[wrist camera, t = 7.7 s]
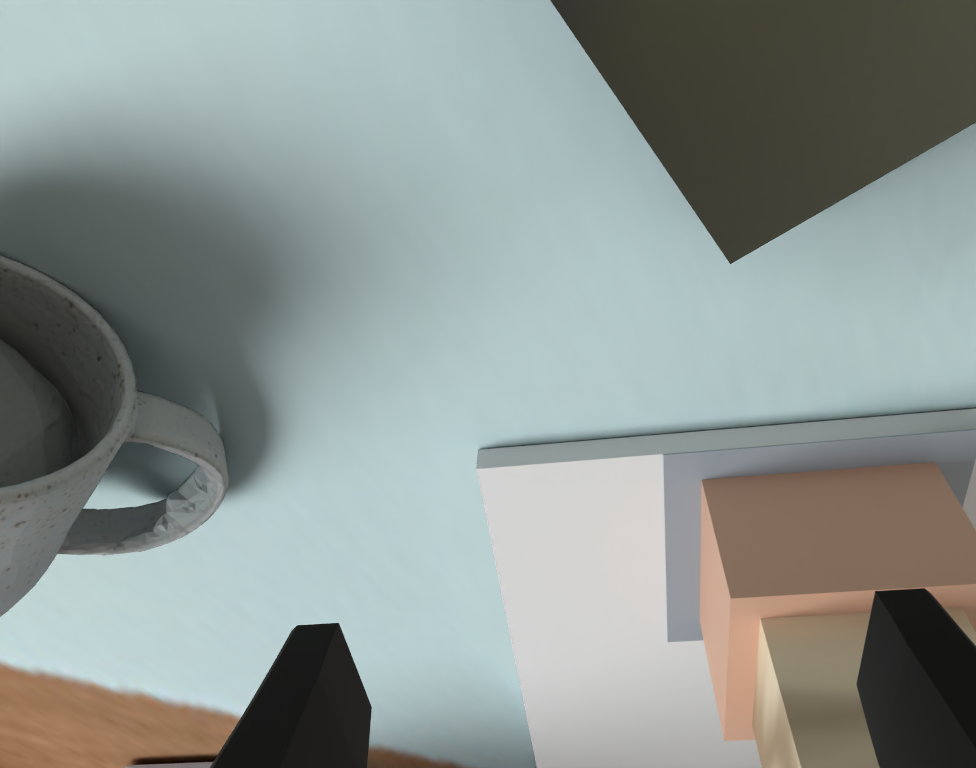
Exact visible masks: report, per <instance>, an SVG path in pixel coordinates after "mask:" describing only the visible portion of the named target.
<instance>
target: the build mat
mask: <svg viewBox="0 0 976 768" xmlns="http://www.w3.org/2000/svg"><path fill="white" fill-rule="evenodd" d="M929 462H936V464H937V466H938V467H939V469H940V471H941V473H942V474H943V476H944V478H945V479H946V481H947V483H948V484H949V486H950V488H951V489H952V491H953V493H954V494H955V496H956V498H957V499H958V501H959V503H960V505H961V506H962V508H963V510H964V511H965V513H966V515H967V516H968V518H969V520H970V521H971V523H972V525H973V526H974V528H975V530H976V409H964V410H952V411H940V412H928V413H915V414H903V415H891V416H879V417H867V418H855V419H843V420H831V421H819V422H807V423H795V424H783V425H770V426H758V427H746V428H734V429H722V430H710V431H698V432H686V433H674V434H662V435H650V436H638V437H625V438H613V439H601V440H589V441H577V442H565V443H553V444H541V445H529V446H517V447H505V448H493V449H480V450H478V455H477V474H478V479H479V484H480V489H481V494H482V499H483V504H484V509H485V514H486V519H487V524H488V529H489V534H490V539H491V543H492V548H493V553H494V558H495V563H496V568H497V573H498V578H499V583H500V588H501V593H502V598H503V603H504V608H505V613H506V618H507V623H508V628H509V633H510V638H511V642H512V647H513V652H514V657H515V662H516V667H517V672H518V677H519V682H520V687H521V692H522V697H523V702H524V707H525V712H526V717H527V722H528V727H529V732H530V737H531V741H532V746H533V751H534V756H535V761H536V766H537V768H762V765H761V761H760V757H759V752H758V748H757V744H756V740H739V741H724V738H723V733H722V728H721V723H720V719H719V714H718V709H717V704H716V699H715V694H714V689H713V684H712V679H711V674H710V669H709V664H708V659H707V655H706V650H705V645H704V640H703V635H702V630H701V625H700V554H701V480H705V479H718V478H732V477H745V476H758V475H771V474H784V473H798V472H811V471H824V470H837V469H850V468H863V467H877V466H890V465H903V464H916V463H929Z"/></svg>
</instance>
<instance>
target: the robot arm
mask: <svg viewBox="0 0 976 768" xmlns="http://www.w3.org/2000/svg"><path fill="white" fill-rule="evenodd" d="M856 685H857V689H858V692H859V696H860V700H861V704H862V707H863V711H864V715H865V719H866V722H867V726H868V730H869V733H870V737H871V740H872V744H873V747H874V751H875V754H876V758H877V761H878V764H879V767H880V768H976V645H975V644H974V643H973V642H972V641H971V640H970V638H969V637H968V636H967V635H966V634H965V633H964V631H963V630H962V629H961V628H960V627H959V626H958V624H957V623H956V622H955V621H954V620H953V619H952V617H951V616H950V615H949V614H948V613H947V611H946V610H945V609H944V608H943V607H942V606H941V604H940V603H939V602H938V601H937V600H936V598H935V597H934V596H933V595H932V594H931V593H930V592H929V591H927V590H926V589H925V588H919V589H902V590H886V591H875V594H874V599H873V604H872V609H871V614H870V619H869V624H868V629H867V634H866V639H865V644H864V649H863V654H862V659H861V664H860V669H859V674H858V678H857V683H856ZM371 708H372V707H371V704H370V702H369V699H368V697H367V694H366V691H365V689H364V686H363V684H362V681H361V679H360V676H359V674H358V671H357V668H356V666H355V663H354V661H353V658H352V656H351V653H350V651H349V648H348V645H347V643H346V640H345V638H344V635H343V633H342V630H341V628H340V625H339V623H331V624H314V625H297V626H296V627H295V628H294V629H293V630H292V631H291V633H290V635H289V637H288V638H287V640H286V642H285V644H284V645H283V647H282V649H281V651H280V652H279V654H278V656H277V658H276V659H275V661H274V663H273V665H272V666H271V668H270V670H269V672H268V673H267V675H266V677H265V679H264V680H263V682H262V684H261V685H260V687H259V689H258V690H257V692H256V694H255V696H254V697H253V699H252V701H251V702H250V704H249V706H248V707H247V709H246V711H245V712H244V714H243V715H242V717H241V719H240V720H239V722H238V724H237V725H236V727H235V729H234V730H233V732H232V733H231V735H230V736H229V738H228V740H227V741H226V743H225V744H224V746H223V747H222V749H221V751H220V752H219V754H218V755H217V757H216V758H215V760H214V762H196V763H171V764H146V765H129V766H127V767H125V768H367V757H368V747H369V734H370V721H371Z"/></svg>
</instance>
